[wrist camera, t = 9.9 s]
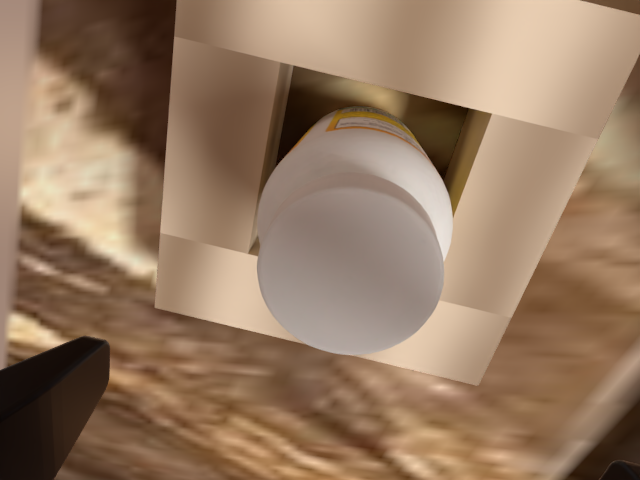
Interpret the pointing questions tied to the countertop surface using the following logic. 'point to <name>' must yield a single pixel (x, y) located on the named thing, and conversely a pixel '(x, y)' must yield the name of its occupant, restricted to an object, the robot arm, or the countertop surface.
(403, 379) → the countertop surface
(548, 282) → the countertop surface
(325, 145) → the supplement bottle
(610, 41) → the socket block
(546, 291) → the countertop surface
